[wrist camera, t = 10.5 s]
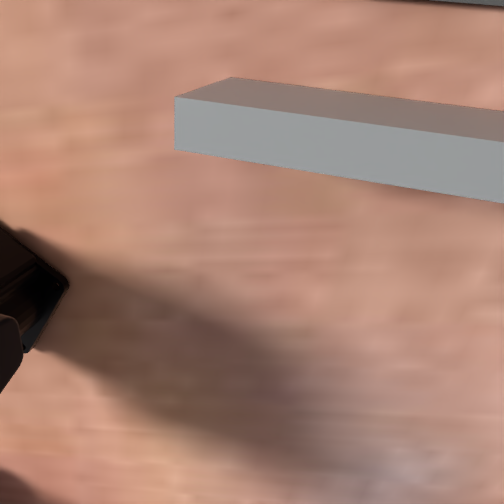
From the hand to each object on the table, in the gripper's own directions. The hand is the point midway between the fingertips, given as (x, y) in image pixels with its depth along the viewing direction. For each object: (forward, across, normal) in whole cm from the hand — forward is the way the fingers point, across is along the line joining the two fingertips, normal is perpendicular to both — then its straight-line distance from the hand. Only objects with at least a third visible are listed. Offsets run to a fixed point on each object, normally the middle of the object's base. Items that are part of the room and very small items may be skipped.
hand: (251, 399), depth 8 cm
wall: (+12, -4, -2) cm, 13 cm away
